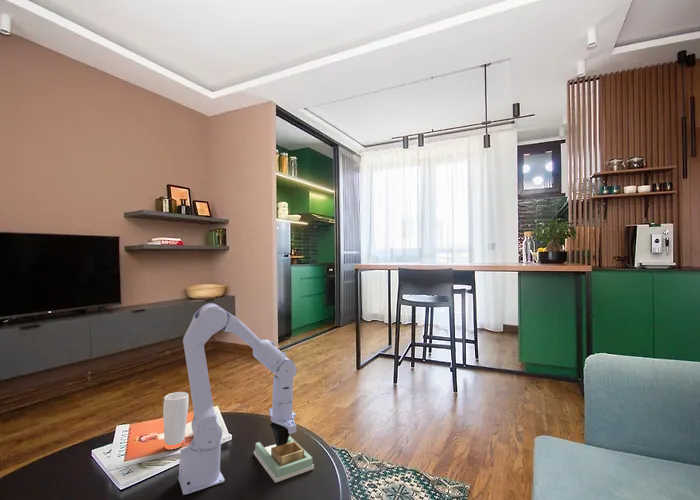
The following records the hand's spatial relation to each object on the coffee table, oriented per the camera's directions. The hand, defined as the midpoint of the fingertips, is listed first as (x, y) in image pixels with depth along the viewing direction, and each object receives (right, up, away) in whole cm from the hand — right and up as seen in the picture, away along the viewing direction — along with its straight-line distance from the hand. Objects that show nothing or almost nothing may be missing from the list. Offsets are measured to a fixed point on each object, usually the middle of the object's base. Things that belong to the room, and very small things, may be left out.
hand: (281, 449), depth 97 cm
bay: (+1, -3, -1) cm, 3 cm away
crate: (+2, -1, -4) cm, 4 cm away
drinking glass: (-33, -3, +6) cm, 34 cm away
